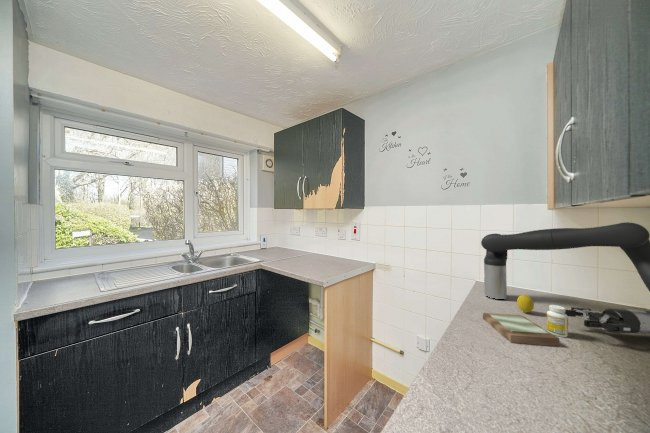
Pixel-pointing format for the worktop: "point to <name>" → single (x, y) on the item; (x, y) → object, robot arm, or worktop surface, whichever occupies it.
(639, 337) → the worktop surface
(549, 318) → the supplement bottle
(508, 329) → the brown flat wooden block
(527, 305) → the lemon
